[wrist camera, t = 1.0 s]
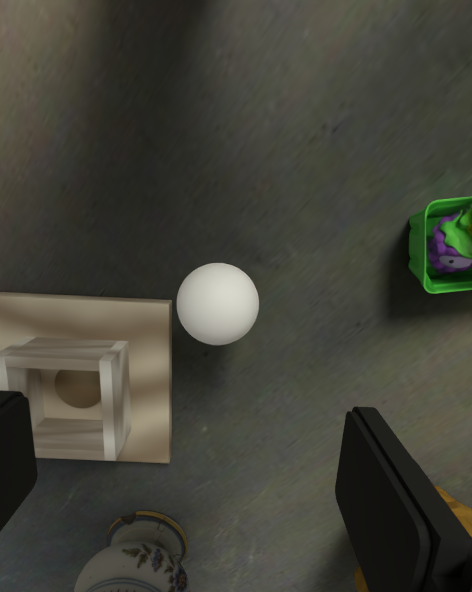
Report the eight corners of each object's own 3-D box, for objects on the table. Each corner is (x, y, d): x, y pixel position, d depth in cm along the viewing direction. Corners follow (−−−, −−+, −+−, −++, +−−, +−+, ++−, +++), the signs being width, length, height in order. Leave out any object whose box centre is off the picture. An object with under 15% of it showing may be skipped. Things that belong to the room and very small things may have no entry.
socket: (-9, 291, 32) (-64, 307, 26) (171, 300, 32) (157, 318, 26) (12, 446, 36) (-31, 490, 30) (171, 453, 36) (159, 498, 31)
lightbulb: (265, 288, 32) (280, 324, 21) (217, 324, 33) (208, 375, 22) (227, 239, 31) (222, 250, 20) (179, 277, 32) (149, 308, 21)
